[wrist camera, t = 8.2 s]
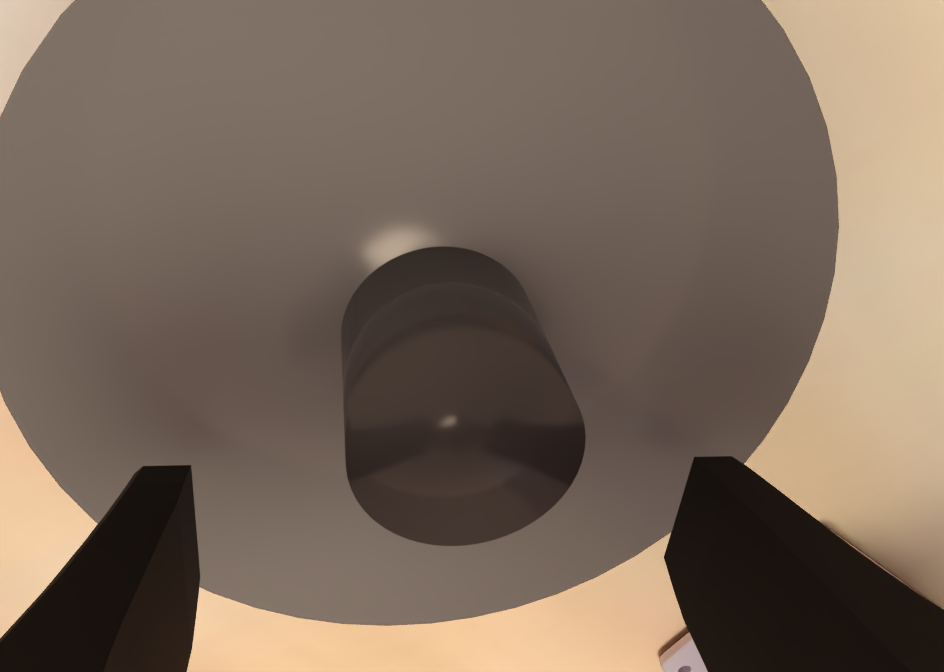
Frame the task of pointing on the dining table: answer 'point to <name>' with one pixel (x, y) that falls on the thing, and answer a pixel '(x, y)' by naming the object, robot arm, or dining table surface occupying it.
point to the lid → (410, 279)
